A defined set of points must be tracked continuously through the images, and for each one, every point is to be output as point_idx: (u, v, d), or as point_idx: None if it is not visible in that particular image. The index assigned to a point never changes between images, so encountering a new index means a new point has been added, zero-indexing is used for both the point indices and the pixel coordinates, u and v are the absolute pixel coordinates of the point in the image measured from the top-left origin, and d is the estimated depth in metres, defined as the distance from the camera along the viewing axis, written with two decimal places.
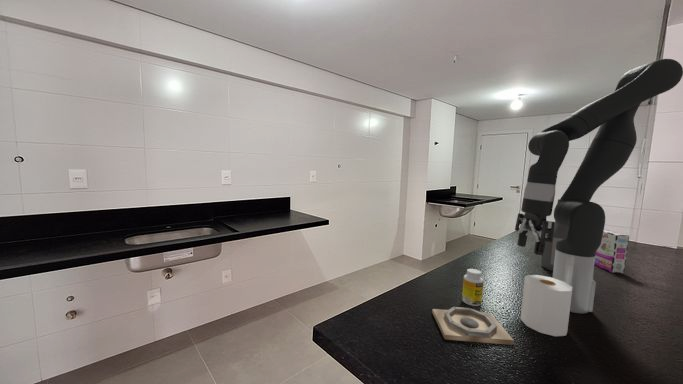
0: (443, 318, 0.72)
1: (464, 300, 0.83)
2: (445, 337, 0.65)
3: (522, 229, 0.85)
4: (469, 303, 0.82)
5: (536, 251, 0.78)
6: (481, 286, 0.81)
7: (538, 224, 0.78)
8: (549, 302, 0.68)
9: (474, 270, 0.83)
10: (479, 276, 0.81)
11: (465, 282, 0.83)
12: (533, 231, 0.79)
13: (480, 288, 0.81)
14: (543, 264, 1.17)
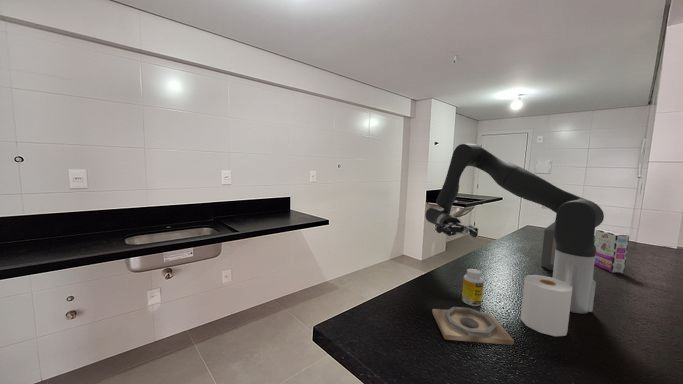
0: (443, 318, 0.72)
1: (464, 300, 0.83)
2: (445, 337, 0.65)
3: (465, 233, 0.99)
4: (469, 303, 0.82)
5: (447, 234, 0.95)
6: (481, 286, 0.81)
7: None
8: (549, 302, 0.68)
9: (474, 270, 0.83)
10: (479, 276, 0.81)
11: (465, 282, 0.83)
12: None
13: (480, 288, 0.81)
14: (543, 264, 1.17)
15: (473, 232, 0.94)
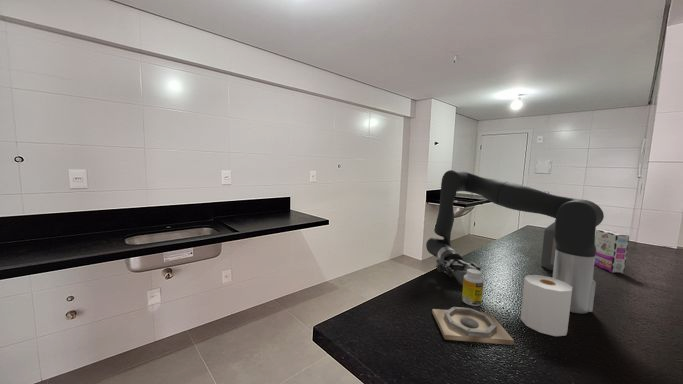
0: (443, 318, 0.72)
1: (464, 300, 0.83)
2: (445, 337, 0.65)
3: None
4: (469, 303, 0.82)
5: (449, 275, 0.92)
6: (481, 286, 0.81)
7: None
8: (549, 302, 0.68)
9: (474, 270, 0.83)
10: (479, 276, 0.81)
11: (465, 282, 0.83)
12: None
13: (480, 288, 0.81)
14: (543, 264, 1.17)
15: None
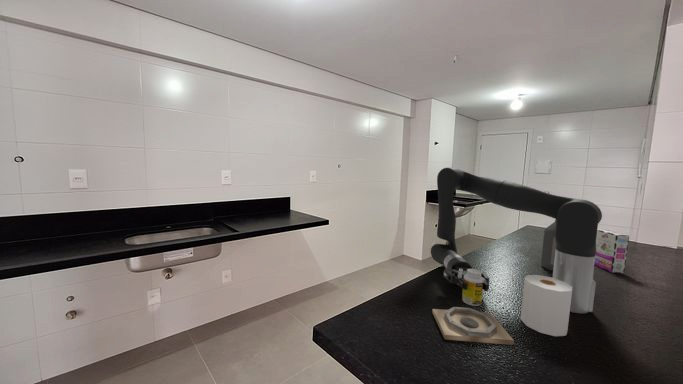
0: (443, 318, 0.72)
1: (464, 300, 0.83)
2: (445, 337, 0.65)
3: None
4: (469, 303, 0.82)
5: (463, 288, 0.82)
6: (481, 286, 0.81)
7: None
8: (549, 302, 0.68)
9: (474, 270, 0.83)
10: (479, 276, 0.81)
11: None
12: None
13: (480, 288, 0.81)
14: (543, 264, 1.17)
15: (484, 285, 0.81)
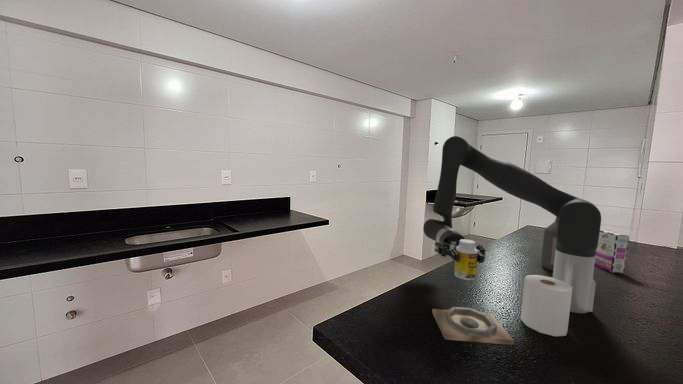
0: (443, 318, 0.72)
1: (456, 274, 0.74)
2: (445, 337, 0.65)
3: None
4: (462, 277, 0.72)
5: None
6: (475, 257, 0.72)
7: None
8: (549, 302, 0.68)
9: (468, 240, 0.74)
10: (473, 246, 0.72)
11: None
12: None
13: (474, 260, 0.71)
14: (543, 264, 1.17)
15: (479, 256, 0.72)
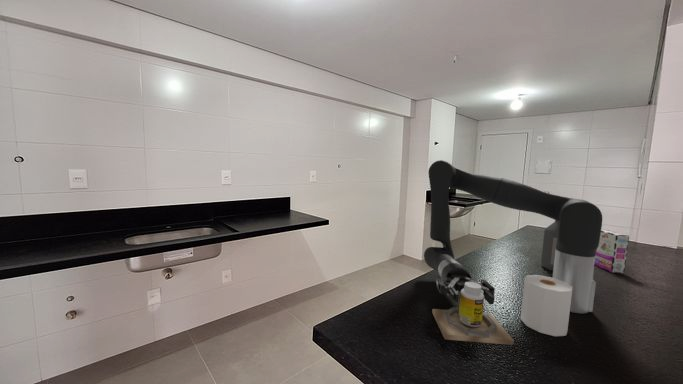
0: (443, 318, 0.72)
1: (461, 319, 0.70)
2: (445, 337, 0.65)
3: None
4: (467, 323, 0.68)
5: (454, 299, 0.69)
6: (481, 303, 0.68)
7: None
8: (549, 302, 0.68)
9: (473, 284, 0.70)
10: (479, 291, 0.68)
11: (462, 298, 0.69)
12: None
13: (480, 306, 0.67)
14: (543, 264, 1.17)
15: (489, 297, 0.68)
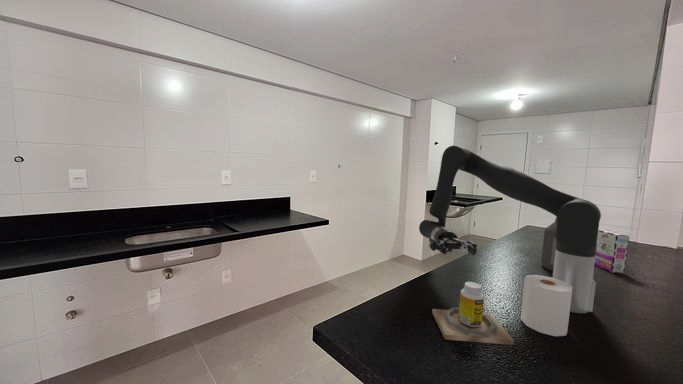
0: (443, 318, 0.72)
1: (461, 319, 0.70)
2: (445, 337, 0.65)
3: (462, 250, 0.88)
4: (467, 323, 0.68)
5: (443, 253, 0.84)
6: (481, 303, 0.68)
7: None
8: (549, 302, 0.68)
9: (473, 284, 0.70)
10: (479, 291, 0.68)
11: (462, 298, 0.69)
12: None
13: (480, 306, 0.67)
14: (543, 264, 1.17)
15: (471, 249, 0.83)
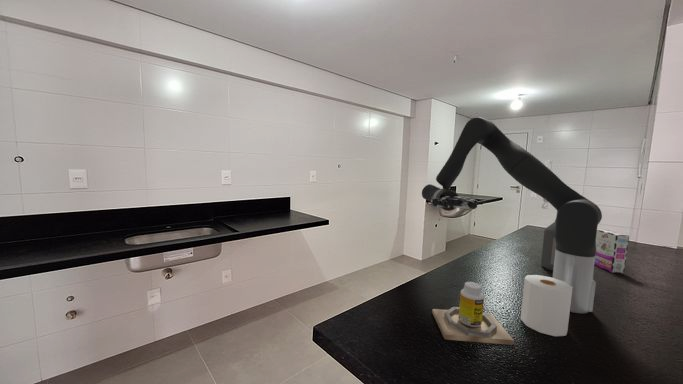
0: (443, 318, 0.72)
1: (461, 319, 0.70)
2: (445, 337, 0.65)
3: (463, 206, 0.91)
4: (467, 323, 0.68)
5: (444, 206, 0.87)
6: (481, 303, 0.68)
7: None
8: (549, 302, 0.68)
9: (473, 284, 0.70)
10: (479, 291, 0.68)
11: (462, 298, 0.69)
12: None
13: (480, 306, 0.67)
14: (543, 264, 1.17)
15: (472, 203, 0.86)
